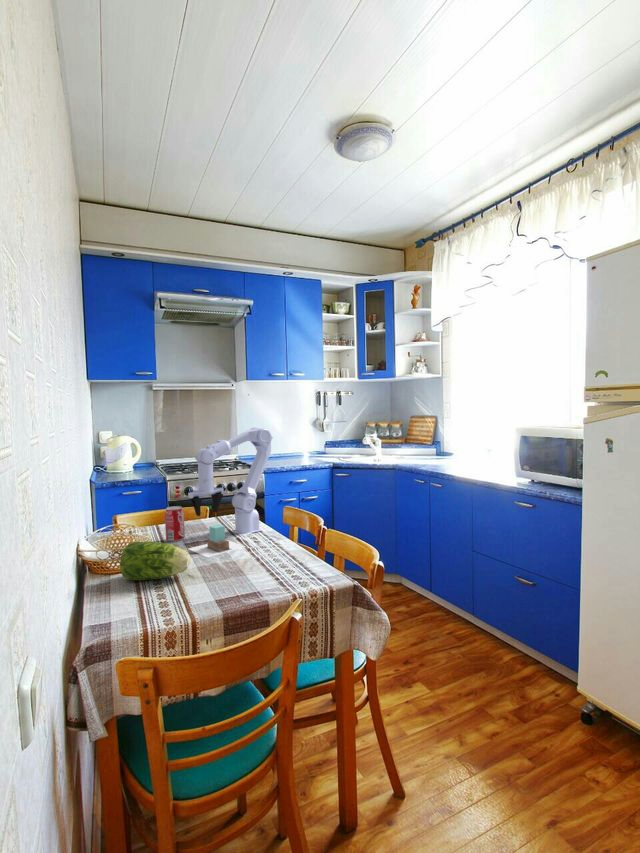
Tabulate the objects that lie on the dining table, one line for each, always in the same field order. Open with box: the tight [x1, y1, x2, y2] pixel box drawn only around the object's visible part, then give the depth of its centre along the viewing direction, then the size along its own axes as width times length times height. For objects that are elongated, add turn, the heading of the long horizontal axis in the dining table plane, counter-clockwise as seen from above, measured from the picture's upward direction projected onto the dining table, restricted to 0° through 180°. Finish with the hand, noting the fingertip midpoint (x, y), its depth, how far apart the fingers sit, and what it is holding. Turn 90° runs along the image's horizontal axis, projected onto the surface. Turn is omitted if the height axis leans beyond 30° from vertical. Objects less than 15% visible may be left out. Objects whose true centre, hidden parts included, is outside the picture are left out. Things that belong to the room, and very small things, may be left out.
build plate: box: [188, 538, 246, 558], centre depth 167 cm, size 16×14×1 cm
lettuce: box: [119, 541, 191, 581], centre depth 139 cm, size 12×21×11 cm, turn 90°
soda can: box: [164, 505, 186, 543], centre depth 179 cm, size 7×7×13 cm
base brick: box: [207, 538, 230, 552], centre depth 166 cm, size 4×8×3 cm, turn 45°
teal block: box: [208, 524, 226, 542], centre depth 166 cm, size 4×4×5 cm
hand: (207, 513), depth 179 cm, fingers open, 7 cm apart
